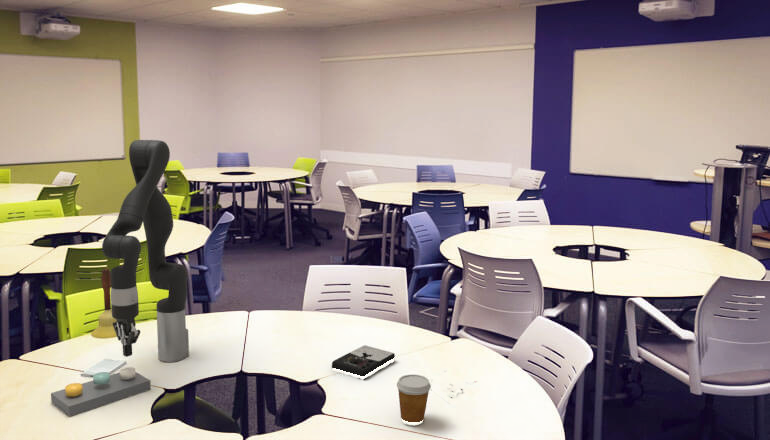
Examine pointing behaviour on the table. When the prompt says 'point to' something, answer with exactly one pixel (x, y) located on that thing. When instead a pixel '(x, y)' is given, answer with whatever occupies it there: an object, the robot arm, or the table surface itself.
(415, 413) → the disposable coffee cup
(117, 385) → the console
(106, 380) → the teal button
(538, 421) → the table surface
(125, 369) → the offwhite button
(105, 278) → the handbell
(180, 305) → the robot arm
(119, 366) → the hard drive
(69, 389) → the amber button
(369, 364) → the black and grey book
